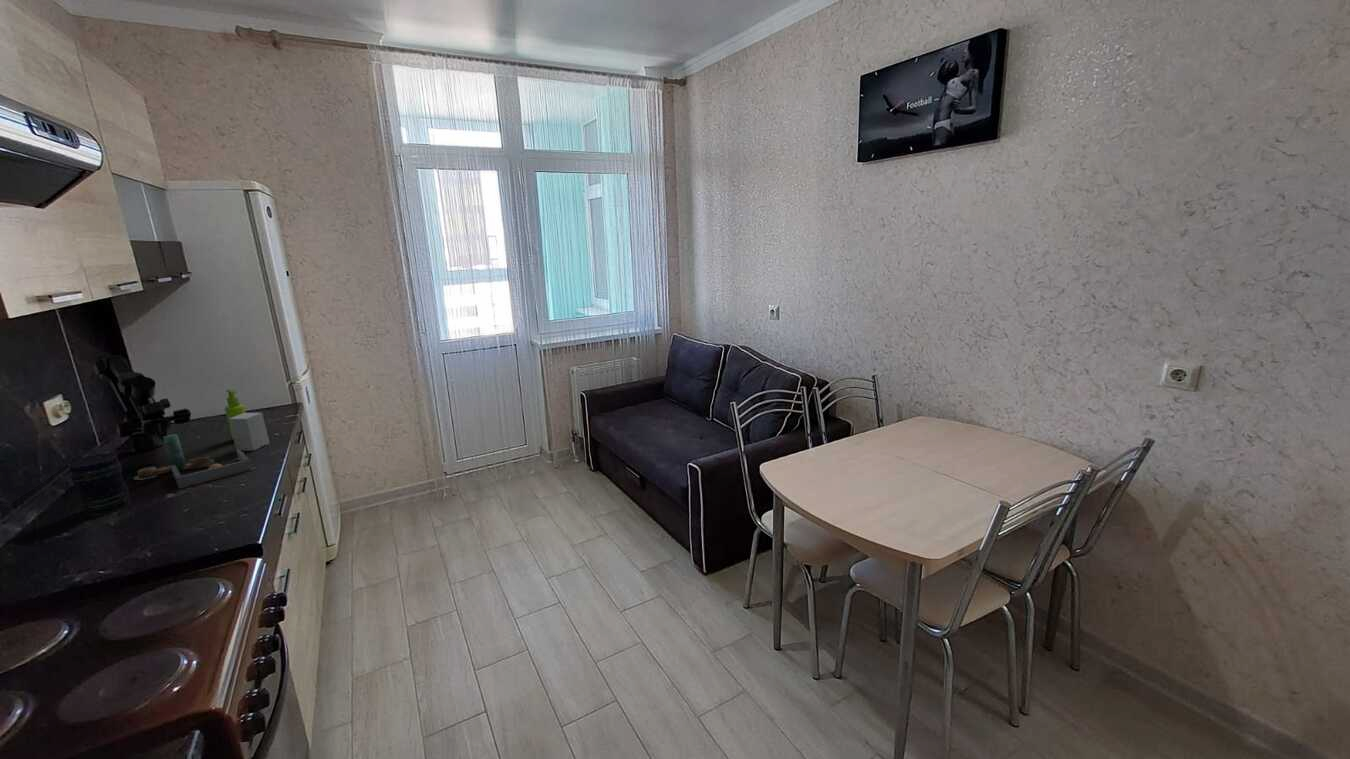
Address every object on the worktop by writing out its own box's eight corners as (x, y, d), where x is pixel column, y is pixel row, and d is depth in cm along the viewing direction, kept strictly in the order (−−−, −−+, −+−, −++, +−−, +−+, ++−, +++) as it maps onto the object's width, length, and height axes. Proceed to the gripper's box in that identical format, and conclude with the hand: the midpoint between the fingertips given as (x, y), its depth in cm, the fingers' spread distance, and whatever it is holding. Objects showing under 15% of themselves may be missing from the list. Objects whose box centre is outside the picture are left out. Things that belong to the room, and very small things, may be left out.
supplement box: (270, 443, 204) (263, 412, 200) (253, 451, 197) (246, 418, 193) (252, 443, 204) (245, 412, 201) (235, 451, 197) (227, 418, 194)
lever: (137, 479, 174) (126, 444, 171) (141, 474, 178) (131, 440, 175) (212, 466, 183) (203, 432, 180) (215, 461, 187) (206, 429, 184)
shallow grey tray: (173, 475, 177) (170, 466, 176) (242, 458, 190) (240, 449, 189) (179, 488, 167) (176, 478, 166) (251, 469, 181) (249, 459, 180)
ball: (212, 461, 177) (213, 461, 174) (225, 466, 179) (227, 466, 177) (204, 473, 175) (205, 472, 173) (218, 478, 178) (219, 477, 175)
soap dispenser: (236, 442, 205) (223, 392, 200) (230, 439, 209) (218, 390, 204) (254, 438, 210) (243, 389, 205) (249, 434, 214) (237, 386, 209)
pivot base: (137, 482, 173) (137, 481, 172) (130, 477, 176) (130, 477, 176) (166, 474, 178) (165, 473, 178) (158, 470, 182) (158, 469, 182)
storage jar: (100, 517, 151) (84, 468, 147) (74, 514, 153) (57, 465, 149) (140, 500, 160) (126, 454, 156) (115, 498, 162) (100, 452, 158)
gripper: (109, 400, 176) (129, 438, 173) (182, 386, 191) (201, 421, 189) (109, 418, 182) (128, 455, 180) (179, 404, 197) (198, 437, 195)
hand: (165, 441), depth 185 cm, fingers closed
